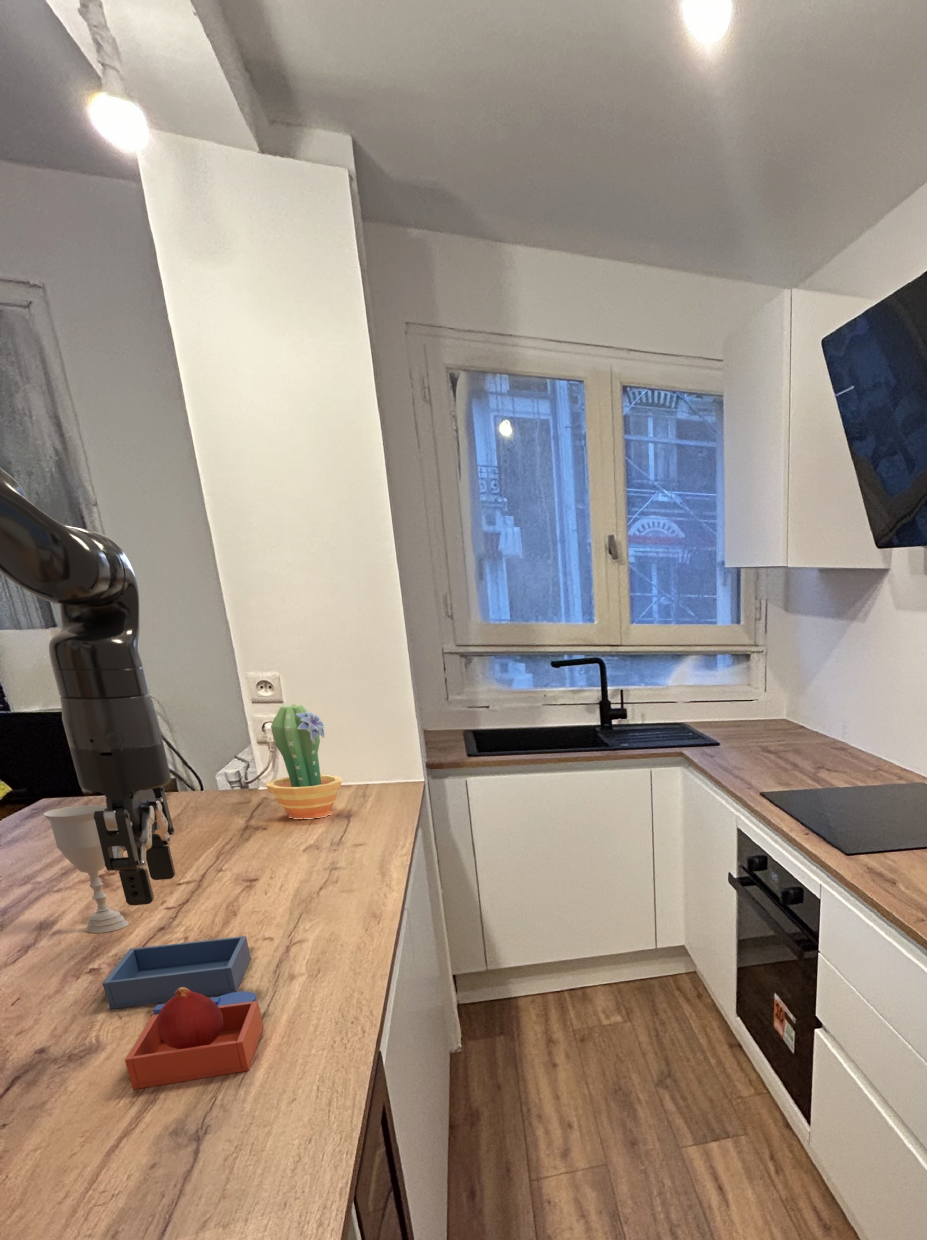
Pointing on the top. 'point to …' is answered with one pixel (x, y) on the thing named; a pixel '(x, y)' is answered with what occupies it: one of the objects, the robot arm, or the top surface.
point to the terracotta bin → (197, 1050)
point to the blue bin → (177, 971)
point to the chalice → (85, 858)
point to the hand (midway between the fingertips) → (153, 890)
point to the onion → (189, 1020)
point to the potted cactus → (301, 765)
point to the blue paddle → (224, 999)
